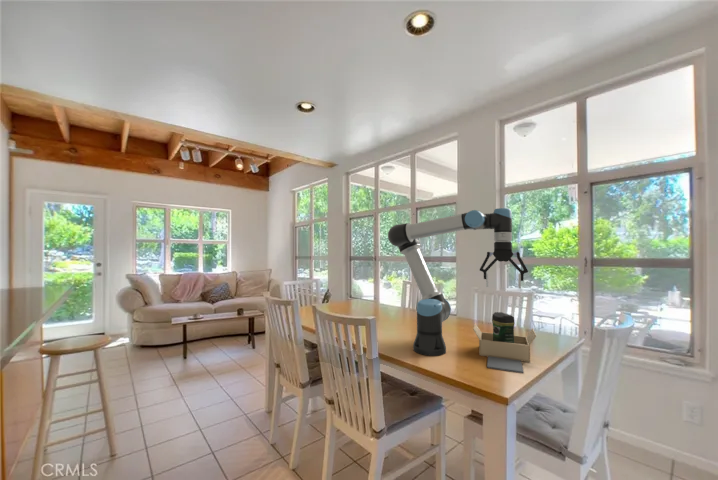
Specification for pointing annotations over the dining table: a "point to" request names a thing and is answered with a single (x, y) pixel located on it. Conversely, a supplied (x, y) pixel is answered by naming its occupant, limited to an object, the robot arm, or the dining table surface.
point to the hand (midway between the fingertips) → (503, 287)
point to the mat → (505, 364)
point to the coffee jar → (503, 327)
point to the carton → (505, 346)
